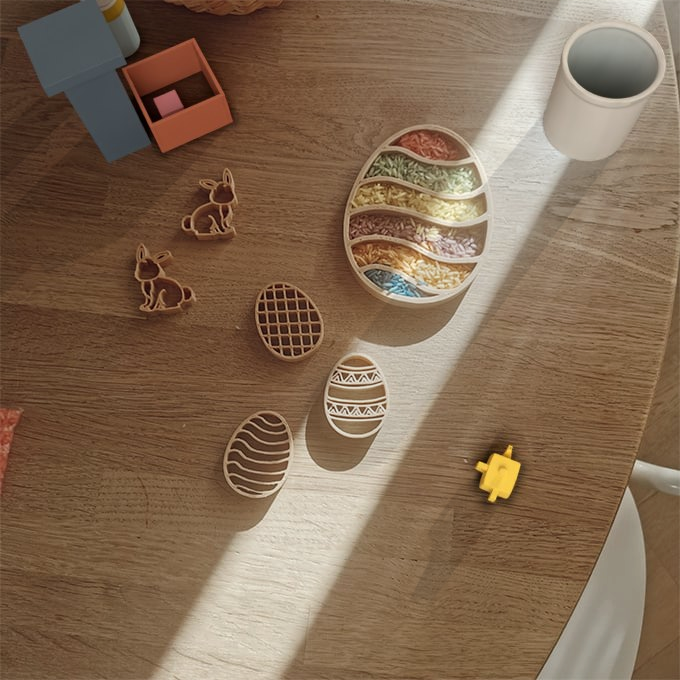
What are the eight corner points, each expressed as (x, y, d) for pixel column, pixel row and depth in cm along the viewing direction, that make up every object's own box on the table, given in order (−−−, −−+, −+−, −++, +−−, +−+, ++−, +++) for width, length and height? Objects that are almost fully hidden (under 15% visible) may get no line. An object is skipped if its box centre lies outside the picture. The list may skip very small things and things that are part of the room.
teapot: (483, 441, 106) (488, 434, 101) (522, 457, 105) (529, 450, 100) (464, 493, 104) (469, 488, 99) (503, 509, 103) (509, 505, 98)
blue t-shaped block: (103, 180, 124) (42, 88, 102) (80, 128, 128) (16, 27, 106) (168, 152, 126) (122, 54, 103) (143, 101, 129) (93, -5, 107)
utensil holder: (618, 178, 120) (656, 111, 103) (528, 156, 122) (551, 87, 105) (635, 106, 124) (675, 30, 107) (548, 86, 126) (574, 9, 110)
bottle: (144, 58, 133) (116, -6, 118) (106, 67, 132) (74, 3, 118) (139, 28, 135) (110, -38, 121) (101, 37, 135) (69, -29, 121)
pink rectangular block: (183, 106, 123) (189, 121, 127) (174, 89, 125) (180, 104, 128) (161, 116, 123) (168, 130, 127) (153, 98, 124) (159, 113, 128)
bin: (164, 157, 125) (150, 127, 117) (137, 100, 130) (121, 68, 122) (234, 126, 127) (224, 94, 119) (205, 71, 131) (193, 37, 123)
